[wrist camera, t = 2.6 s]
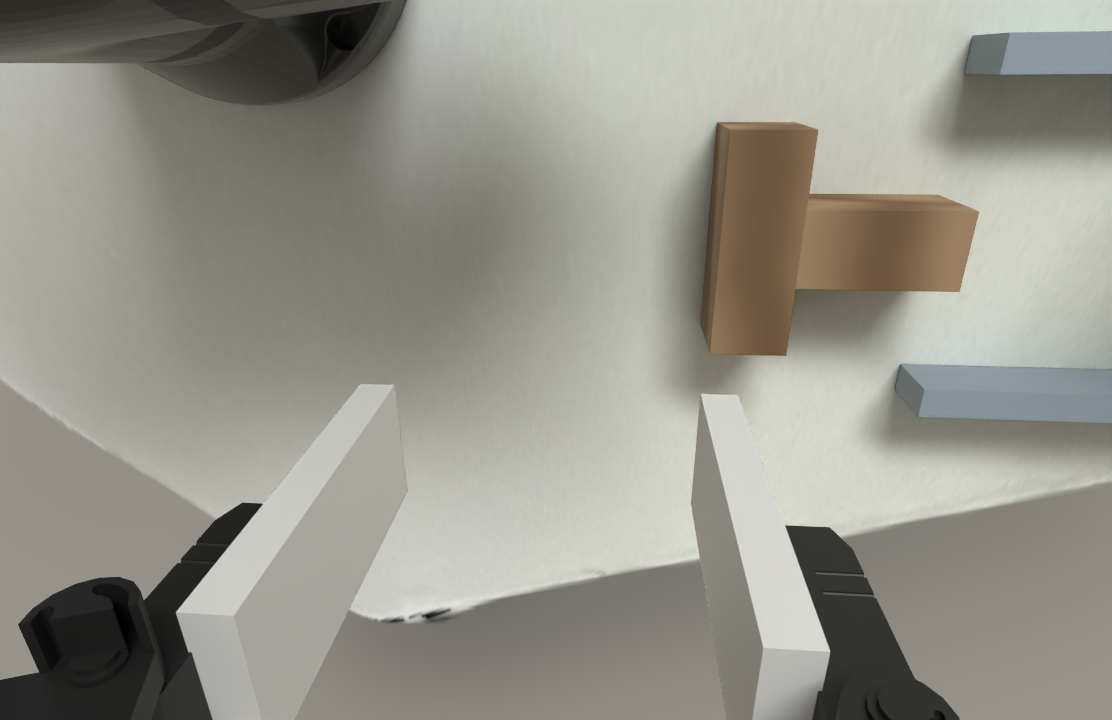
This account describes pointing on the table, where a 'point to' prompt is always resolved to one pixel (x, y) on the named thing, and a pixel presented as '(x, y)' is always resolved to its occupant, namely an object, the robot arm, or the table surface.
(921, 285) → the t block
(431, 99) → the table surface
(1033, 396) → the dock
